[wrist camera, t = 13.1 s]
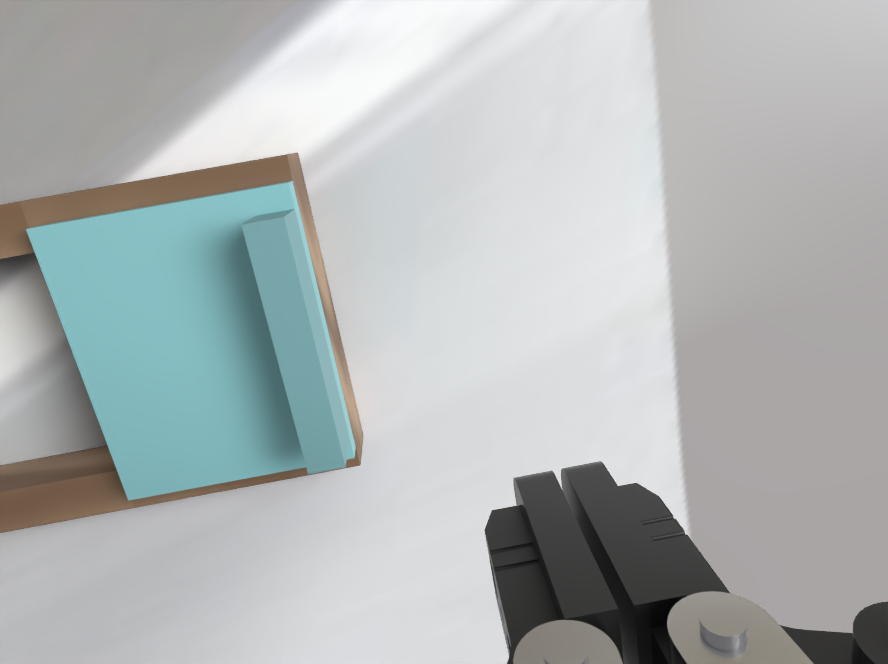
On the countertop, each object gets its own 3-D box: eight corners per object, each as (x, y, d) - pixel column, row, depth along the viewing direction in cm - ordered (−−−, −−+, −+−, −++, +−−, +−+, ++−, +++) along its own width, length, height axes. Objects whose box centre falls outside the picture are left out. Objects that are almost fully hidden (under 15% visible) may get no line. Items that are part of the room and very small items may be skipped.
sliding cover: (355, 447, 28) (350, 488, 25) (137, 488, 28) (103, 535, 25) (292, 180, 25) (276, 187, 21) (40, 225, 24) (-16, 239, 21)
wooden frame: (363, 435, 32) (360, 465, 29) (-72, 516, 31) (-118, 555, 28) (297, 152, 27) (286, 154, 24) (-209, 241, 27) (-281, 254, 24)
